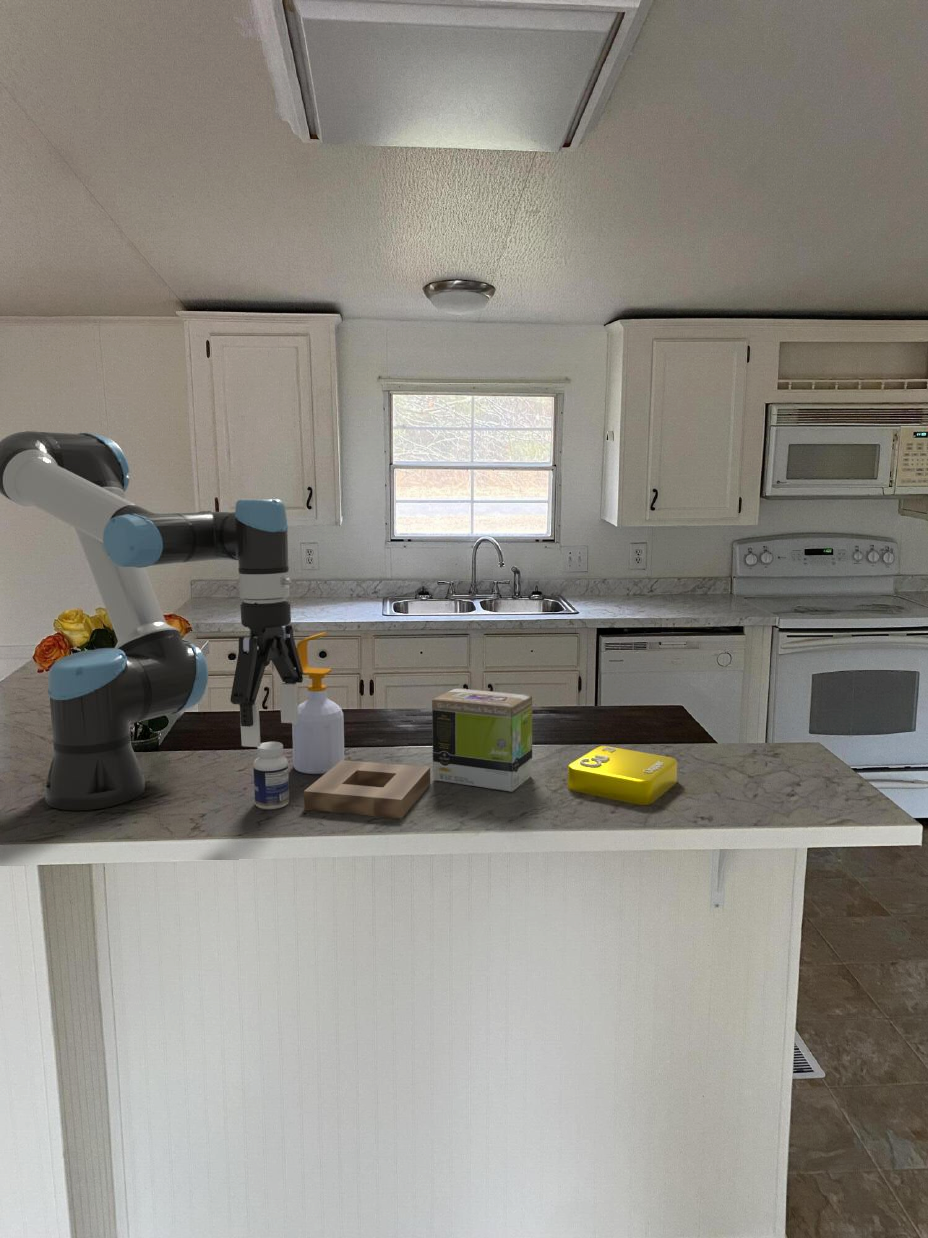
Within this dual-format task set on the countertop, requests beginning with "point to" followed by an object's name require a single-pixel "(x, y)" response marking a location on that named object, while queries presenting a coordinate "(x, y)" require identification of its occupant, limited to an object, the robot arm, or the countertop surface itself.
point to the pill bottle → (271, 776)
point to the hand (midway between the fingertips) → (271, 734)
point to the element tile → (622, 775)
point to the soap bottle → (317, 723)
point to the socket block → (368, 789)
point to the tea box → (482, 738)
